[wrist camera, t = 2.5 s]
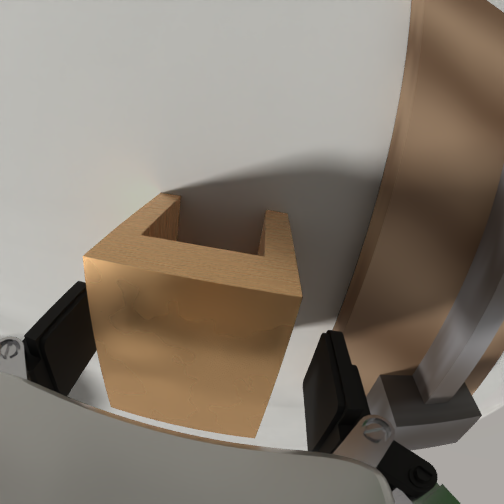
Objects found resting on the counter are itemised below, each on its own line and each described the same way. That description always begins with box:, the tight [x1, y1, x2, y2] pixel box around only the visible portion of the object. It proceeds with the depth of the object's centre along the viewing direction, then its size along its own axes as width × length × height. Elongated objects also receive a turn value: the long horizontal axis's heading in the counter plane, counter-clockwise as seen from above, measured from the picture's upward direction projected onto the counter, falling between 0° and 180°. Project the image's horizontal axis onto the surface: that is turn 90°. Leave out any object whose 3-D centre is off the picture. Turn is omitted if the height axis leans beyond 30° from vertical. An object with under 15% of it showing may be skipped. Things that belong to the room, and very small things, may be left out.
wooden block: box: [83, 193, 303, 438], centre depth 12 cm, size 7×6×7 cm
